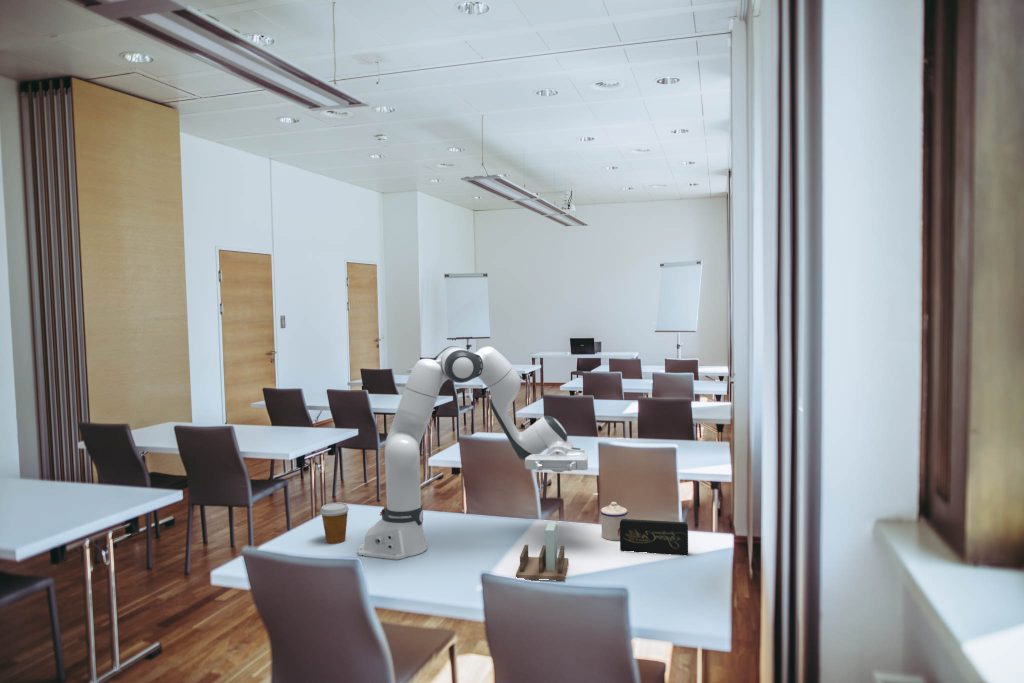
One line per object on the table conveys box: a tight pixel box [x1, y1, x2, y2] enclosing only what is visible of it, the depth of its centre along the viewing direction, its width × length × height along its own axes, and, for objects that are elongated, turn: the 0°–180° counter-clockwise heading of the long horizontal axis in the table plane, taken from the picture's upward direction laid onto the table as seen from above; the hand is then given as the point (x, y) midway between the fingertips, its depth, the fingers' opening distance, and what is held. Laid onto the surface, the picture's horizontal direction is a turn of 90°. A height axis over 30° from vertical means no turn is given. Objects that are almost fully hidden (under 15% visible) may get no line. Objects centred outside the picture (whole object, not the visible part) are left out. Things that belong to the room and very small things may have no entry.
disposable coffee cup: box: [319, 502, 350, 545], centre depth 231 cm, size 10×10×12 cm
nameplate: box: [619, 518, 689, 556], centre depth 212 cm, size 21×2×10 cm, turn 75°
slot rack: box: [515, 544, 569, 583], centre depth 199 cm, size 14×14×6 cm
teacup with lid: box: [600, 501, 629, 541], centre depth 228 cm, size 12×9×12 cm
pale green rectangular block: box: [544, 522, 558, 571], centre depth 198 cm, size 2×7×12 cm, turn 170°
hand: (554, 468), depth 209 cm, fingers open, 8 cm apart
